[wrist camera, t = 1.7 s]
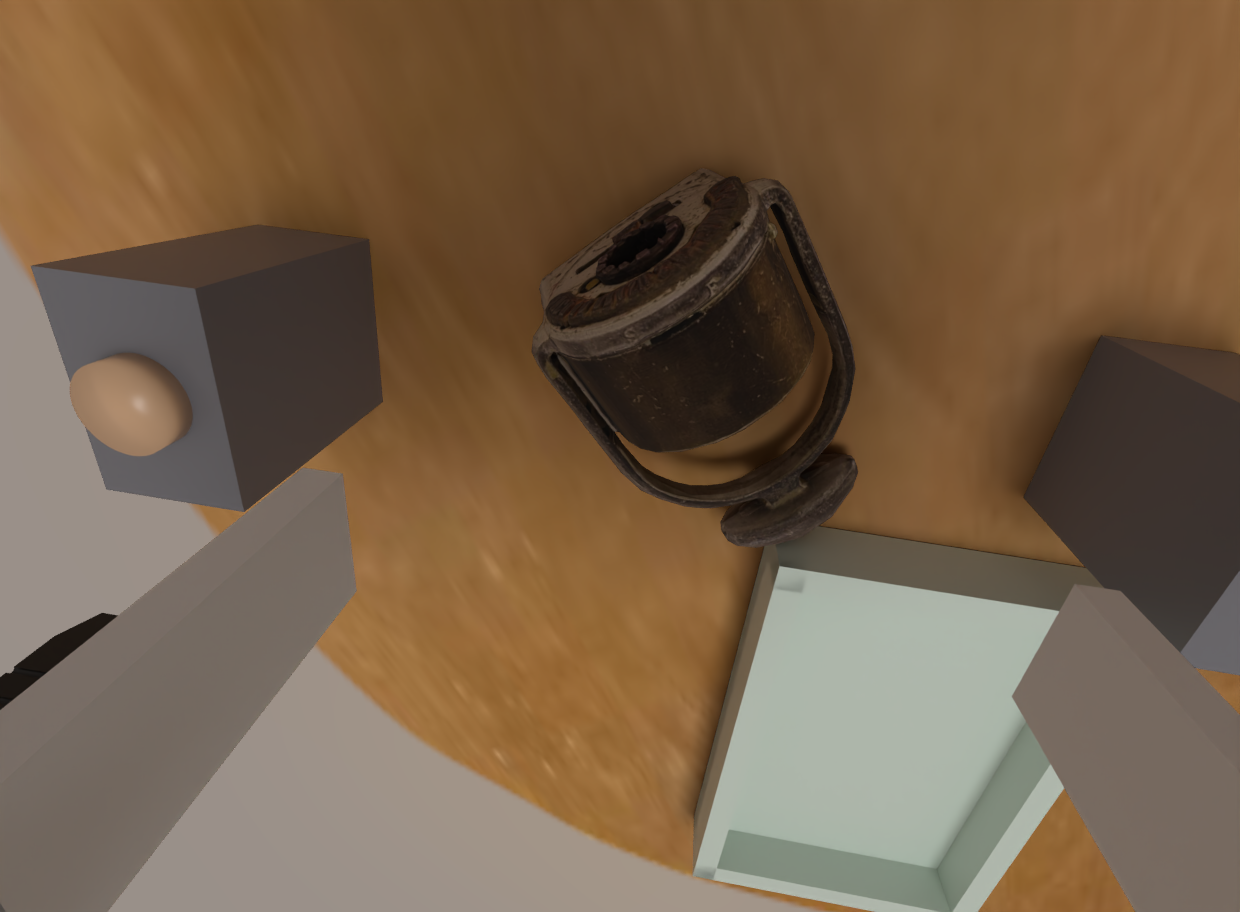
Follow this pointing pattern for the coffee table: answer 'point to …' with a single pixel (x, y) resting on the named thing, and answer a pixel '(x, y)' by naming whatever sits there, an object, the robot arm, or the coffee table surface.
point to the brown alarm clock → (702, 348)
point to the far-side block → (216, 357)
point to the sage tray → (880, 724)
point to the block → (1155, 488)
